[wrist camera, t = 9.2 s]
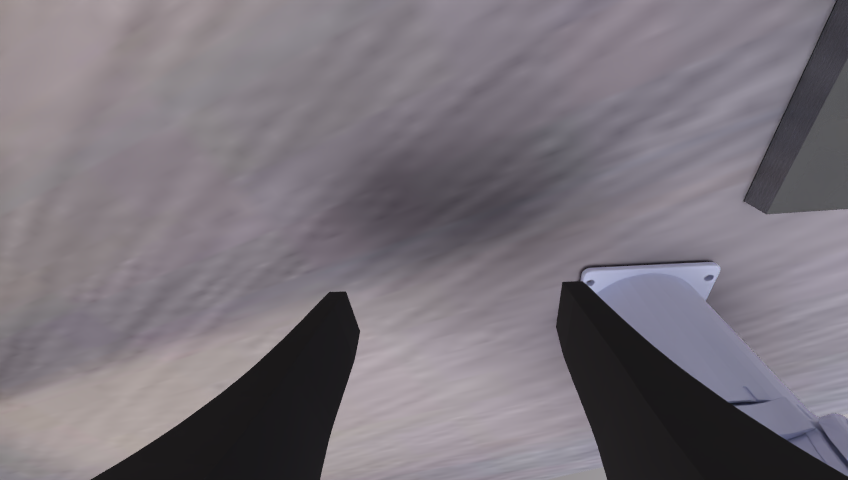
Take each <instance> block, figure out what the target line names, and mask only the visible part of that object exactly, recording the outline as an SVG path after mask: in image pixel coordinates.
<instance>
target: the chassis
mask: <svg viewBox="0 0 848 480" xmlns="http://www.w3.org/2000/svg"><path fill="white" fill-rule="evenodd" d="M744 202H746V203H748V204H750V205H751V206H753V207H755V208H757V209H758V210H760V211H762V212H764V213H765V214H777V213H792V212H807V211H822V210H837V209H848V0H837V3H836V5H835V7H834V9H833V11H832V13H831V15H830V18H829V20H828V22H827V24H826V26H825V28H824V30H823V33H822V35H821V37H820V39H819V41H818V43H817V46H816V48H815V50H814V52H813V54H812V56H811V58H810V61H809V63H808V65H807V67H806V69H805V71H804V73H803V76H802V78H801V80H800V82H799V84H798V86H797V88H796V91H795V93H794V95H793V97H792V99H791V101H790V104H789V106H788V108H787V110H786V112H785V114H784V116H783V119H782V121H781V123H780V125H779V127H778V129H777V131H776V134H775V136H774V138H773V140H772V142H771V144H770V147H769V149H768V151H767V153H766V155H765V157H764V159H763V162H762V164H761V166H760V168H759V170H758V172H757V174H756V177H755V179H754V181H753V183H752V185H751V187H750V190H749V192H748V194H747V196H746V198H745V200H744Z"/></svg>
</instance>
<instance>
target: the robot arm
mask: <svg viewBox="0 0 848 480" xmlns="http://www.w3.org/2000/svg"><path fill="white" fill-rule="evenodd" d="M720 270H721V268H720V266H719V265H718V264H716V263H715V262H699V263H679V264H659V265H638V266H618V267H597V268H588V269H585V270H584V271H583V272H582V275H581V281H576V282H562V289H561V296H560V303H559V310H558V318H557V325H556V328H557V332H558V336H559V340H560V344H561V348H562V352H563V355H564V358H565V361H566V364H567V366H568V369H569V372H570V374H571V377H572V380H573V382H574V385H575V387H576V390H577V392H578V395H579V398H580V400H581V403H582V405H583V408H584V410H585V413H586V416H587V418H588V421H589V423H590V426H591V428H592V431H593V434H594V437H595V440H596V443H597V446H598V449H599V452H600V456H601V459H602V463H603V466H604V470H605V473H606V477H607V480H848V418H846V417H845V416H843V415H840V414H836V413H833V414H829V415H826V416H823V417H820V418H819V417H818V416H816V415H814V414H813V413H811V412H810V411H809V410H808V409H807V408H806V406H805V405H804V404H803V403H802V402H801V401H800V400H799V399H798V398H797V397H796V396H795V395H794V394H793V393H792V392H791V391H790V390H789V389H788V387H787V386H786V385H785V384H784V383H783V382H782V381H781V380H780V379H779V378H778V377H777V376H776V375H775V374H774V373H773V372H772V371H771V370H770V368H769V367H768V366H767V365H766V364H765V363H764V362H763V361H762V360H761V359H760V358H759V357H758V356H757V355H756V354H755V353H754V352H753V351H752V349H751V348H750V347H749V346H748V345H747V344H746V343H745V342H744V341H743V340H742V339H741V338H740V337H739V336H738V335H737V334H736V333H735V331H734V330H733V329H732V328H731V327H730V326H729V325H728V324H727V323H726V322H725V321H724V320H723V319H722V318H721V317H720V316H719V315H718V314H717V312H716V311H715V310H714V309H713V308H712V307H711V306H710V305H709V304H708V303H707V302H706V299H707V297H708V295H709V293H710V291H711V289H712V287H713V285H714V283H715V281H716V279H717V277H718V275H719V273H720ZM707 275H708V276H707ZM589 280H592V281H590V282H587V281H589ZM359 334H360V330H359V327H358V324H357V322H356V319H355V316H354V313H353V310H352V307H351V305H350V302H349V299H348V296H347V293H346V292H329V293H328V294H327V295H326V296H325V297H324V298H323V299H322V300H321V301H320V302H319V303H318V304H317V305H316V306H315V307H314V308H313V309H312V310H311V311H310V312H309V313H308V314H307V315H306V317H305V318H304V319H303V320H302V321H301V322H300V323H299V324H298V325H297V326H296V327H295V328H294V329H293V330H292V331H291V332H290V333H289V334H288V335H287V336H286V337H285V338H284V339H283V340H282V341H281V342H279V343H278V344H277V345H276V346H275V347H274V348H273V349H272V350H271V351H270V352H269V353H268V354H267V355H266V356H264V357H263V358H262V359H261V360H260V361H259V362H258V363H257V364H256V365H255V366H254V367H252V368H251V369H250V370H249V371H248V372H247V373H245V374H244V375H243V376H242V377H241V378H239V379H238V380H237V381H236V382H235V383H233V384H232V385H231V386H230V387H228V388H227V389H226V390H225V391H223V392H222V393H221V394H220V395H218V396H217V397H216V398H214V399H213V400H211V401H210V402H209V403H207V404H206V405H205V406H203V407H202V408H201V409H199V410H198V411H196V412H195V413H194V414H192V415H191V416H190V417H188V418H187V419H186V420H184V421H183V422H181V423H180V424H178V425H177V426H176V427H174V428H173V429H171V430H170V431H168V432H167V433H165V434H164V435H162V436H161V437H159V438H158V439H156V440H155V441H153V442H151V443H150V444H148V445H147V446H145V447H144V448H142V449H141V450H139V451H138V452H136V453H134V454H133V455H131V456H130V457H128V458H126V459H125V460H123V461H121V462H120V463H118V464H116V465H115V466H113V467H111V468H110V469H108V470H106V471H105V472H103V473H101V474H99V475H98V476H96V477H94V478H93V479H91V480H320V477H321V472H322V468H323V463H324V459H325V455H326V450H327V446H328V442H329V438H330V434H331V431H332V427H333V424H334V421H335V418H336V415H337V412H338V409H339V406H340V403H341V400H342V397H343V394H344V391H345V388H346V385H347V382H348V379H349V375H350V372H351V369H352V366H353V363H354V360H355V355H356V350H357V345H358V340H359Z"/></svg>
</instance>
